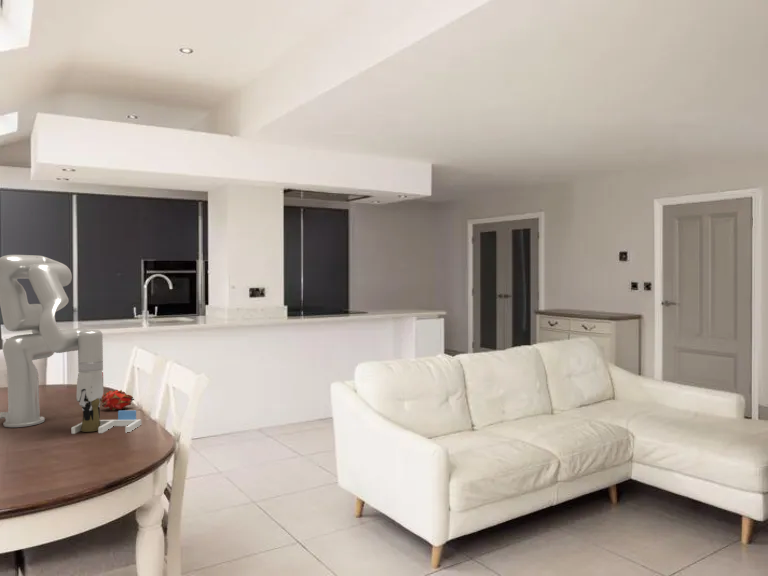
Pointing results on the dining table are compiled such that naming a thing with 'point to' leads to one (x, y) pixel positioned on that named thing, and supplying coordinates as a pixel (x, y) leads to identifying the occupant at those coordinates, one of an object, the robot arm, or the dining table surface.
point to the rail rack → (115, 422)
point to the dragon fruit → (116, 400)
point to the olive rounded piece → (91, 424)
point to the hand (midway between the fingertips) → (91, 420)
